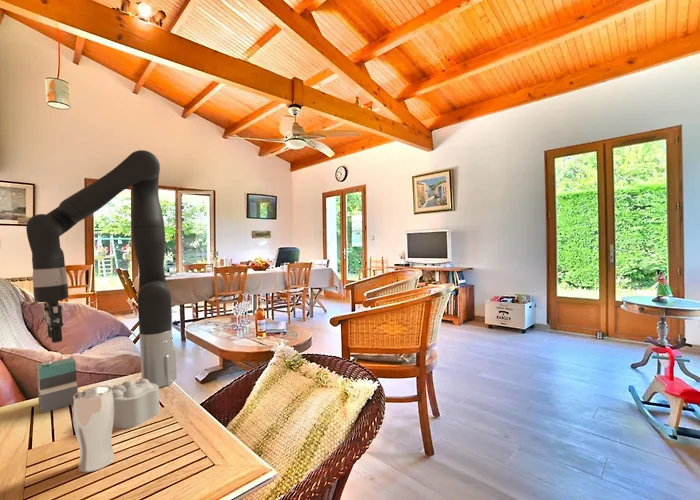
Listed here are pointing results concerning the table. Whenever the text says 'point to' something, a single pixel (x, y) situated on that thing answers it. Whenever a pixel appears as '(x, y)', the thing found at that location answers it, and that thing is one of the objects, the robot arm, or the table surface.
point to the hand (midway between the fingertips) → (55, 339)
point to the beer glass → (94, 427)
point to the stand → (57, 396)
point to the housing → (56, 373)
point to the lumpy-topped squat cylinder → (135, 403)
